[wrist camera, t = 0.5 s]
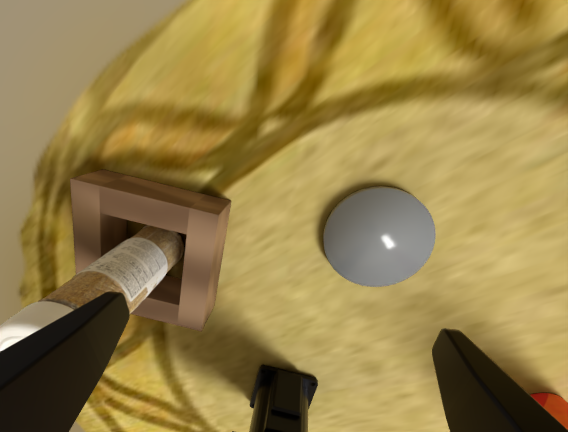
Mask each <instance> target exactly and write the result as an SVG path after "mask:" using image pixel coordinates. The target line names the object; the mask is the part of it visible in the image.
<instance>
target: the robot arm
mask: <svg viewBox="0 0 568 432" xmlns="http://www.w3.org/2000/svg"><path fill="white" fill-rule="evenodd" d="M129 316H130V311H129V308H128V305H127V302H126V299H125V296H124V294H123V293H121V292H113V291H108V292H105V293H103V294H102V295H100V296H98V297H96V298H95V299H93V300H91V301H89V302H87V303H86V304H84V305H82V306H80V307H79V308H77V309H75V310H73V311H71V312H70V313H68V314H66V315H64V316H63V317H61V318H59V319H57V320H55V321H54V322H52V323H50V324H48V325H47V326H45V327H43V328H41V329H39V330H38V331H36V332H34V333H32V334H31V335H29V336H27V337H25V338H23V339H22V340H20V341H18V342H16V343H15V344H13V345H11V346H9V347H7V348H6V349H4V350H2V351H0V432H69V430H70V429H71V427H72V425H73V423H74V422H75V420H76V418H77V417H78V415H79V413H80V412H81V410H82V408H83V407H84V405H85V403H86V402H87V400H88V398H89V396H90V395H91V393H92V391H93V390H94V388H95V386H96V385H97V383H98V381H99V379H100V378H101V376H102V374H103V372H104V370H105V368H106V366H107V365H108V363H109V360H110V358H111V356H112V354H113V352H114V350H115V348H116V346H117V343H118V341H119V339H120V337H121V335H122V333H123V331H124V329H125V327H126V324H127V322H128V320H129ZM432 356H433V361H434V366H435V370H436V375H437V380H438V384H439V389H440V394H441V398H442V403H443V407H444V411H445V416H446V419H447V423H448V426H449V429H450V432H568V430H567V429H566V428H565V427H564V426H563V425H562V424H561V423H560V422H559V421H558V420H557V419H555V418H554V417H553V416H552V415H551V414H550V413H549V412H548V411H547V410H546V409H545V408H544V407H542V406H541V405H540V404H539V403H538V402H537V401H536V400H535V399H534V398H533V397H532V396H530V395H529V394H528V393H527V392H526V391H525V390H524V389H523V388H522V387H521V386H520V385H519V384H517V383H516V382H515V381H514V380H513V379H512V378H511V377H510V376H509V375H508V374H507V373H505V372H504V371H503V370H502V369H501V368H500V367H499V366H498V365H497V364H496V363H495V362H494V361H492V360H491V359H490V358H489V357H488V356H487V355H486V354H485V353H484V352H483V351H482V350H480V349H479V348H478V347H477V346H476V345H475V344H474V343H473V342H472V341H471V340H470V339H469V338H467V337H466V336H465V335H464V334H463V333H462V332H461V331H459V330H455V329H446V328H444V329H442V330H441V331H440V333H439V335H438V337H437V339H436V341H435V343H434V345H433V349H432ZM317 386H318V380H317V379H316V378H313V377H309V376H305V375H301V374H297V373H293V372H289V371H285V370H281V369H277V368H273V367H269V366H265V365H262V366H260V367H259V371H258V375H257V379H256V382H255V386H254V390H253V394H252V398H251V401H250V407H251V408H254V410H253V415H252V420H251V425H250V431H249V432H308V409H309V406H310V404H311V401H312V399H313V396H314V393H315V391H316V388H317ZM232 432H234V431H232Z"/></svg>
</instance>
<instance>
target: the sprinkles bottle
mask: <svg viewBox="0 0 568 432" xmlns="http://www.w3.org/2000/svg"><path fill="white" fill-rule="evenodd" d="M183 253H184V244H183V241H182V238H181V236H180V235H179V234H178V233H177V232H175V231H171V230H167V229H163V228H159V227H155V226H150V225H146V226H144V227H143V228H142V229H141V230H140V231H139V232H138V233H137V234H135V235H134V236H133V237H131V238H130V239H127V240H125V241H124V242H122V243H121V244H119V245H118V246H116V247H115V248H113V249H112V250H111V251H109V252H108V253H106V254H105V255H103V256H102V257H101V258H99V259H98V260H96V261H95V262H93V263H92V264H90V265H89V266H88V267H86V268H85V269H83V270H82V271H80V272H79V273H77V274H76V275H75V276H74V277H73V278H72V279H71V280H69V281H68V282H67V283H65V284H64V285H62V286H61V287H60V288H58V289H57V290H55V291H54V292H52V293H51V294H50V295H48V296H47V297H45V298H43V299H41V300H39V301H38V302H35V303H32V304H30V305H28V306H26V307H25V308H23V309H22V310H21V311H19V312H18V313H16V314H15V315H14V316H12V317H11V318H9V319H8V320H7V321H5V322H4V323H3V324H1V325H0V351H2V350H4V349H6V348H7V347H9V346H11V345H13V344H15V343H16V342H18V341H20V340H22V339H23V338H25V337H27V336H29V335H31V334H32V333H34V332H36V331H38V330H39V329H41V328H43V327H45V326H47V325H48V324H50V323H52V322H54V321H55V320H57V319H59V318H61V317H63V316H64V315H66V314H68V313H70V312H71V311H73V310H75V309H77V308H79V307H80V306H82V305H84V304H86V303H87V302H89V301H91V300H93V299H95V298H96V297H98V296H100V295H102V294H103V293H105V292H108V291H113V292H121V293H123V294H124V296H125V299H126V302H127V305H128V308H129V311H130V313H131V312H133V311H134V310H135V309H136V308H137V307H138V305H139V304H140V303H141V302H142V301H143V300H144V299H145V298H146V297H147V296H148V295H149V294H150V292H151V291H152V290H153V289H154V288H155V287H156V286H157V285H158V283H159V282H160V281H161V280H162V279H163V278H164V276H165V275H166V273H167V272H168V271H169V270H170V269H171V268H172V266H173V265H175V264H176V263H177V262H178V261H179V260H180V259H181V258H182V256H183Z"/></svg>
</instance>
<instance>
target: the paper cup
mask: <svg viewBox="0 0 568 432" xmlns="http://www.w3.org/2000/svg"><path fill="white" fill-rule="evenodd" d="M530 396H532V397H533V398H534V399H535V400H536V401H537V402H538V403H539V404H540V405H541V406H542V407H544V408H545V409H546V410H547V411H548V412H549V413H550V414H551V415H552V416H553V417H554V418H555V419H557V420H558V421H559V422H560V423H561V424H562V425H563V426H564V427H565V428H566V429H567V430H568V403H567V402H566V401H565V400H564V399H563V398H561V397H560V396H558V395H555V394H551V393H535V394H530Z"/></svg>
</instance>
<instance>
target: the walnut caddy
mask: <svg viewBox="0 0 568 432" xmlns="http://www.w3.org/2000/svg"><path fill="white" fill-rule="evenodd" d="M70 183H71V199H72V216H73V232H74V248H75V265H76V274H77V273H79V272H80V271H82V270H83V269H85V268H86V267H88V266H89V265H90V264H92V263H93V262H95V261H96V260H98V259H99V258H101V257H102V256H103V255H105V254H106V253H108V252H109V251H111V250H112V249H113V248H115V247H116V246H118V245H119V244H121V243H122V242H124V241H125V240H127V220H130V221H134V222H138V223H142V224H146V225H150V226H155V227H159V228H163V229H167V230H171V231H175V232H179V233H183V234H187V238H186V247H185V257H184V266H183V276H182V279H179V278H175V277H171V276H167V275H165V276H164V278H163V279H162V280H161V281H160V282H159V283H158V285H157V286H156V287H155V288H154V289H153V290H152V291H151V292H150V294H149V295H148V296H147V297H146V298H145V299H144V300H143V301H142V302H141V303H140V304H139V305H138V307H137V308H136V309H135V310H134V311H133V312H131V313H130V314H134V315H138V316H142V317H146V318H150V319H154V320H158V321H162V322H166V323H170V324H174V325H178V326H182V327H186V328H190V329H194V330H198V331H202V329H203V327H204V325H205V323H206V321H207V319H208V317H209V315H210V313H211V311H212V309H213V307H214V304H215V298H216V292H217V286H218V280H219V274H220V268H221V261H222V255H223V249H224V243H225V237H226V231H227V225H228V218H229V212H230V206H231V201H230V200H226V199H221V198H217V197H213V196H209V195H205V194H201V193H197V192H193V191H189V190H185V189H181V188H177V187H173V186H168V185H164V184H160V183H156V182H152V181H148V180H144V179H140V178H136V177H132V176H128V175H124V174H120V173H115V172H111V171H107V170H103V169H102V170H99V171H95V172H92V173H88V174H85V175H81V176H78V177H74V178H71V179H70Z"/></svg>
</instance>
